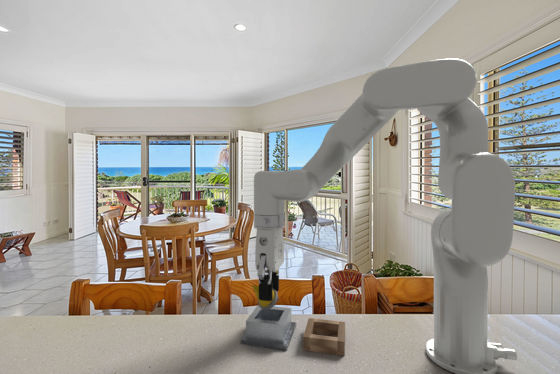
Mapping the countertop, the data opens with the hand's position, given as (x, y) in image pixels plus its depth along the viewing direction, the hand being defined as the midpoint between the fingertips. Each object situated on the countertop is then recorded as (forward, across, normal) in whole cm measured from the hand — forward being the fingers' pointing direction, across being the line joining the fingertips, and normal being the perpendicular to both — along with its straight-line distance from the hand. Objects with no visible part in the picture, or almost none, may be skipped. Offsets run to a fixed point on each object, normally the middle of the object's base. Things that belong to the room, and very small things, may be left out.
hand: (269, 294), depth 69 cm
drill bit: (+4, -1, +1) cm, 4 cm away
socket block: (+10, 0, -14) cm, 17 cm away
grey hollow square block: (+10, 0, 0) cm, 10 cm away
